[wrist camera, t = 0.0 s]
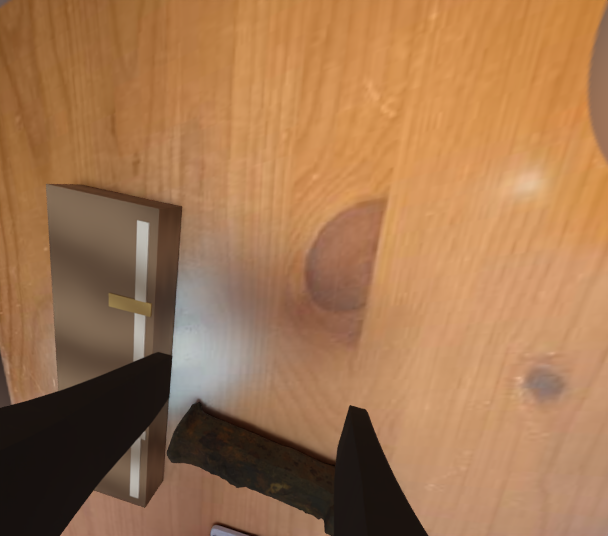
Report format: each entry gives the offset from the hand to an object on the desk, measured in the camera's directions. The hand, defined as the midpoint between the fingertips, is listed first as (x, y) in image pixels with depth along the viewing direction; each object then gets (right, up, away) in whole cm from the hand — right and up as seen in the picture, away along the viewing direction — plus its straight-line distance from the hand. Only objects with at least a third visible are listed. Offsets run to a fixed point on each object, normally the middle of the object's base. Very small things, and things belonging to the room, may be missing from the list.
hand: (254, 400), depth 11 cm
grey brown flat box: (-13, -2, +13) cm, 19 cm away
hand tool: (+1, -10, +14) cm, 17 cm away
